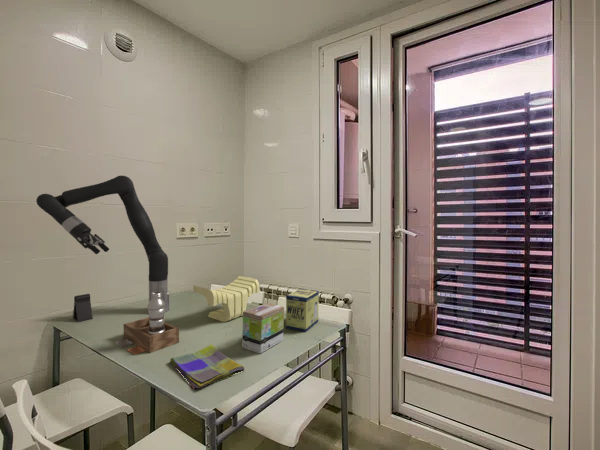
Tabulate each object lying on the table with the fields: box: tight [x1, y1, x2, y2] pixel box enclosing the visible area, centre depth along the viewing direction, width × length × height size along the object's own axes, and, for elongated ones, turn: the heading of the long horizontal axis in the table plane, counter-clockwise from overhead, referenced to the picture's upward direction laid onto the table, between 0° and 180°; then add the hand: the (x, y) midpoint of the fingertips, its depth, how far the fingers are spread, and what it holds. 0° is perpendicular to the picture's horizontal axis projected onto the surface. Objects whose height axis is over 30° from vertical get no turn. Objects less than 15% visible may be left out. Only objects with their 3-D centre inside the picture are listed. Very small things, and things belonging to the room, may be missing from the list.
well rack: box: [115, 316, 180, 356], centre depth 122 cm, size 16×23×6 cm
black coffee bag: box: [72, 293, 93, 323], centre depth 149 cm, size 9×6×12 cm, turn 51°
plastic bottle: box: [147, 291, 165, 336], centre depth 120 cm, size 6×7×20 cm
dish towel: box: [169, 344, 245, 390], centre depth 102 cm, size 18×24×3 cm
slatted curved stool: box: [192, 275, 260, 323], centre depth 154 cm, size 30×16×18 cm, turn 144°
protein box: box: [285, 288, 320, 333], centre depth 142 cm, size 10×16×16 cm
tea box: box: [241, 302, 285, 354], centre depth 121 cm, size 15×10×15 cm, turn 148°
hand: (103, 251), depth 142 cm, fingers open, 8 cm apart
